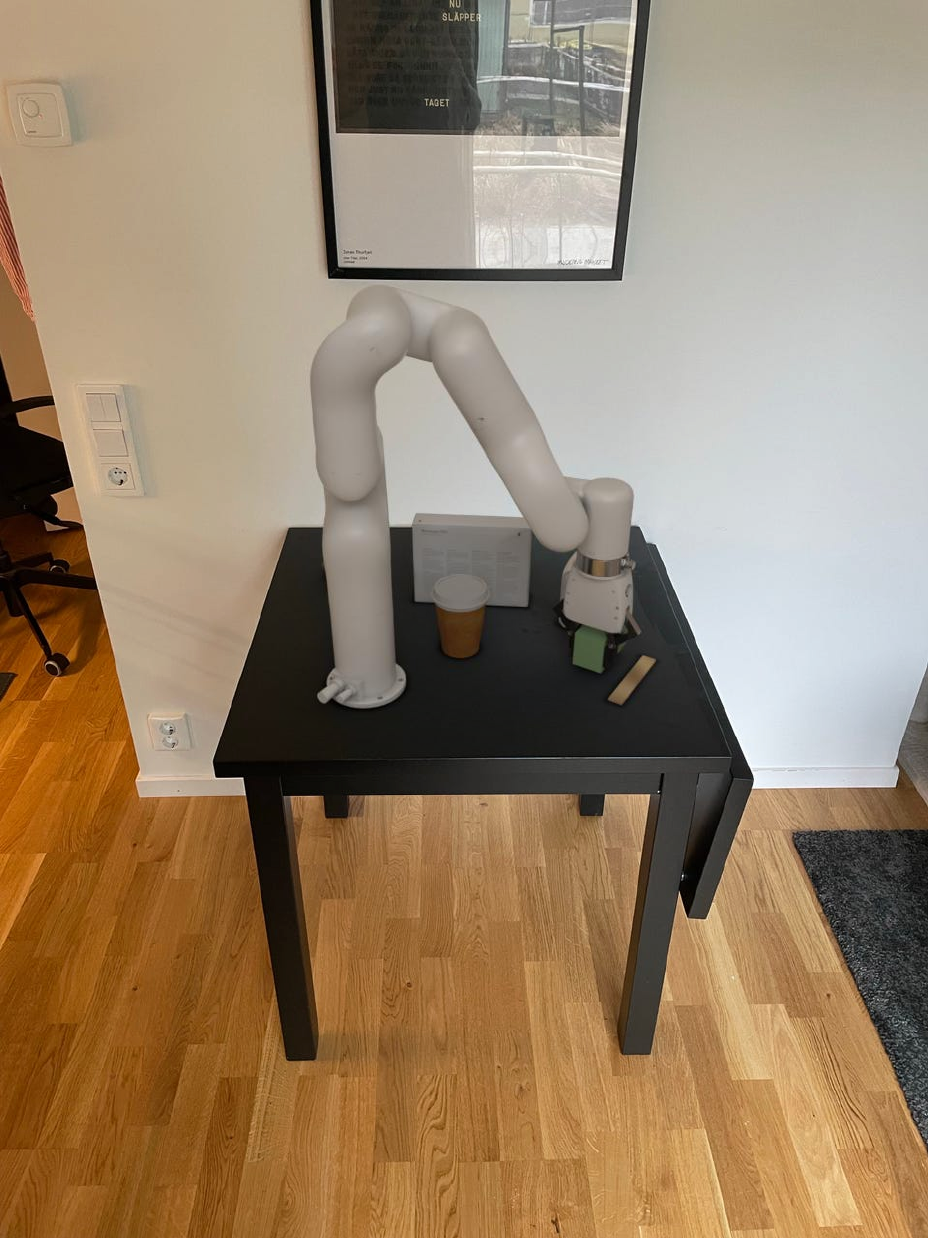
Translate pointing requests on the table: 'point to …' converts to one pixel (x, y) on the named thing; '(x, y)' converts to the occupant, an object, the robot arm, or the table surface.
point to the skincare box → (473, 554)
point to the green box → (591, 647)
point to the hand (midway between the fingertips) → (592, 657)
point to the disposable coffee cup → (460, 613)
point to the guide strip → (632, 680)
